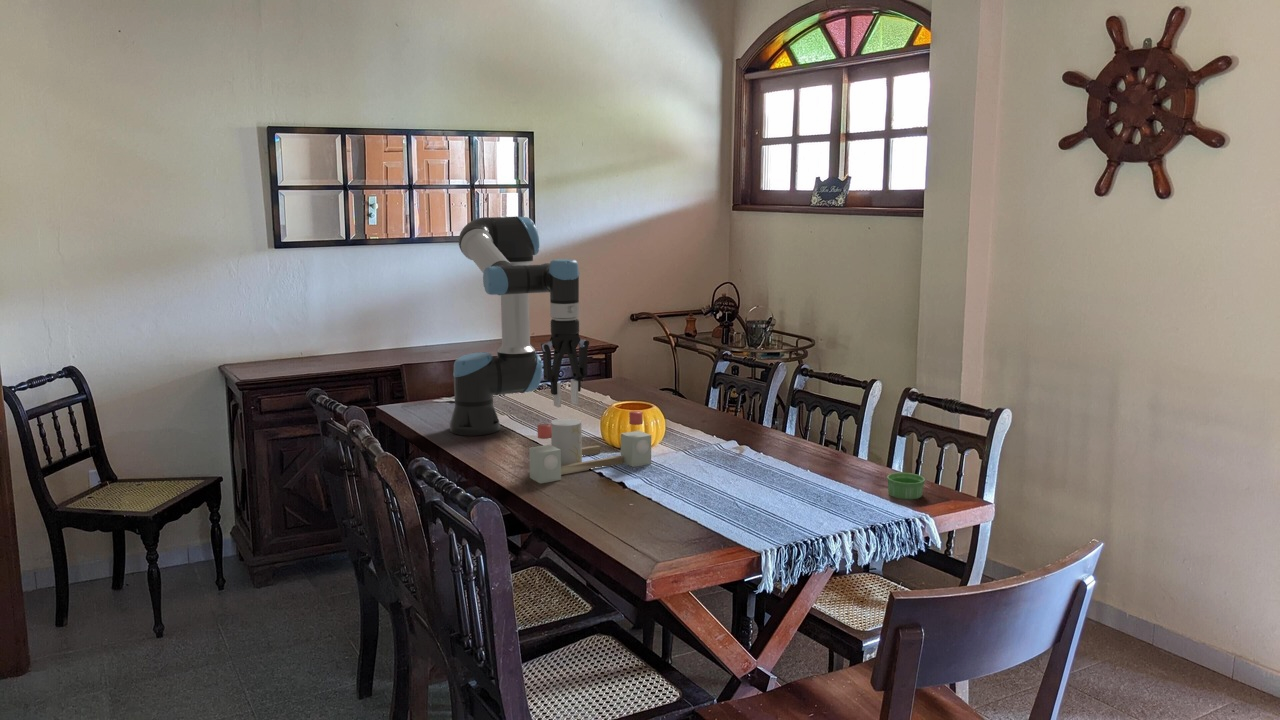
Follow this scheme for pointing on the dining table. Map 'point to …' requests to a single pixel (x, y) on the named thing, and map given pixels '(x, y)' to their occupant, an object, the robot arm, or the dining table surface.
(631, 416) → the block
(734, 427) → the dining table surface
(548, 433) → the block
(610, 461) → the channel
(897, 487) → the ramekin
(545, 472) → the block
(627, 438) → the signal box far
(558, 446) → the grey upright cylinder
